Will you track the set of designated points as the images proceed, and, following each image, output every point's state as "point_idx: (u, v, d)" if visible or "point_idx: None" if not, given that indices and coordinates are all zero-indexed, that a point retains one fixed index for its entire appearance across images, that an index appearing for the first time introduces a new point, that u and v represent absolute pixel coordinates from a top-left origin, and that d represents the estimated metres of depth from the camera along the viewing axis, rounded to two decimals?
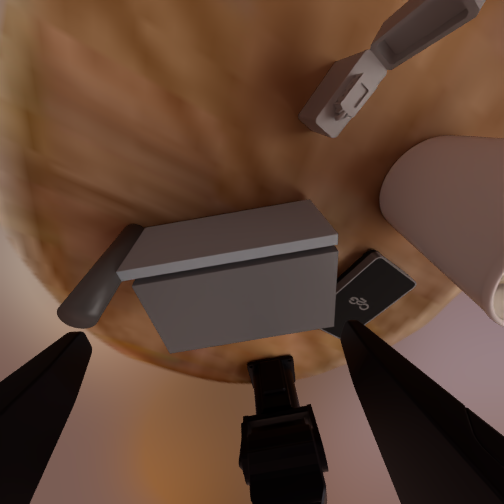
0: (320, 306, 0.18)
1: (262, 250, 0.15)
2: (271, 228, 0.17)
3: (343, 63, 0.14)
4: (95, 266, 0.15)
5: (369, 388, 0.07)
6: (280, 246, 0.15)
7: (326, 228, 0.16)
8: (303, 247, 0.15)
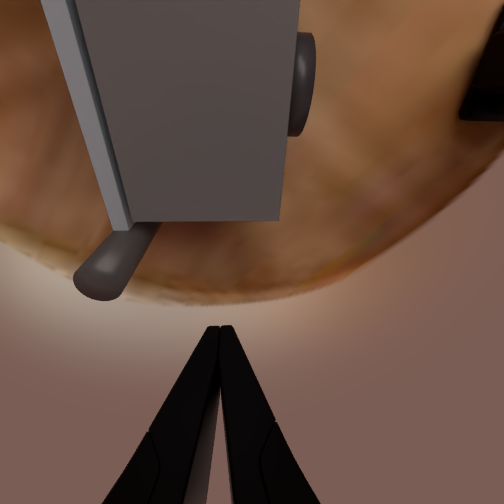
0: None
1: None
2: None
3: None
4: None
5: (221, 398, 0.07)
6: None
7: None
8: None
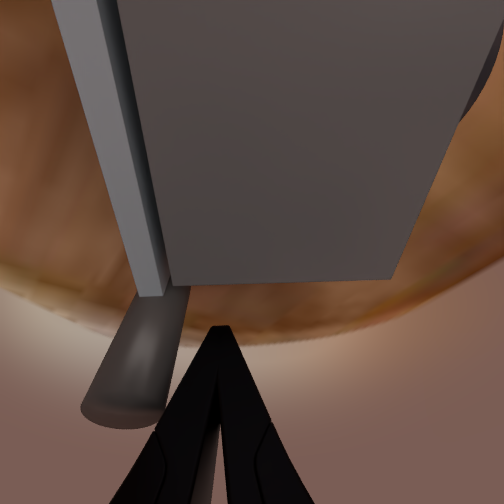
0: None
1: None
2: None
3: None
4: None
5: None
6: None
7: None
8: None
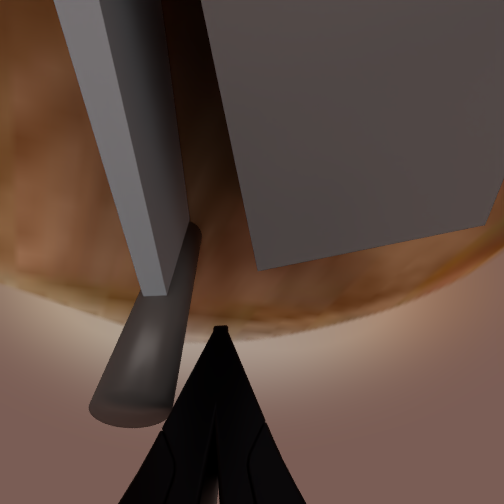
0: None
1: None
2: None
3: None
4: None
5: None
6: None
7: None
8: None
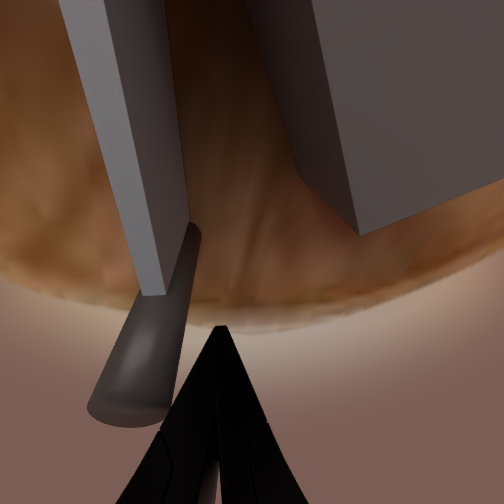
0: None
1: None
2: None
3: None
4: None
5: None
6: None
7: None
8: None
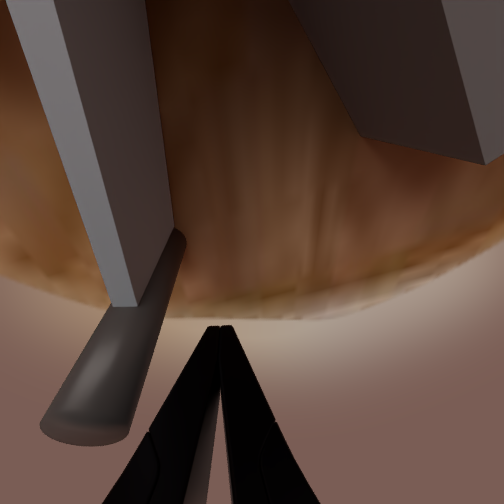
0: None
1: None
2: None
3: None
4: None
5: (221, 398, 0.07)
6: None
7: None
8: None
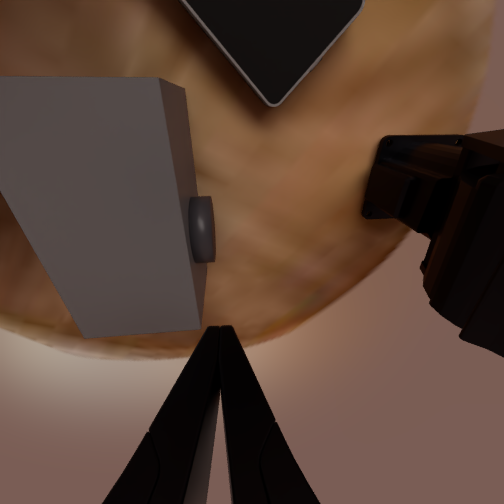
0: (94, 113, 0.09)
1: None
2: None
3: None
4: None
5: (221, 398, 0.07)
6: None
7: None
8: None
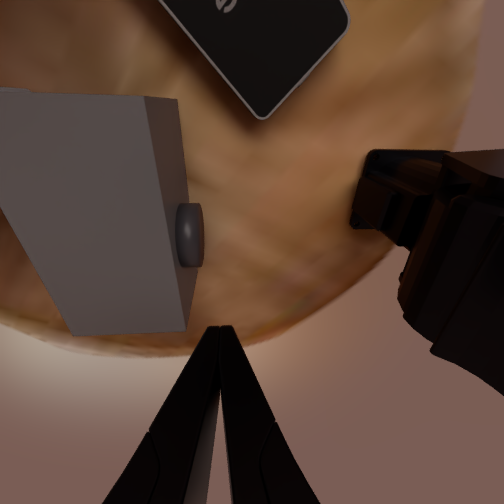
0: (82, 127, 0.10)
1: None
2: None
3: None
4: None
5: (221, 398, 0.07)
6: None
7: None
8: None
